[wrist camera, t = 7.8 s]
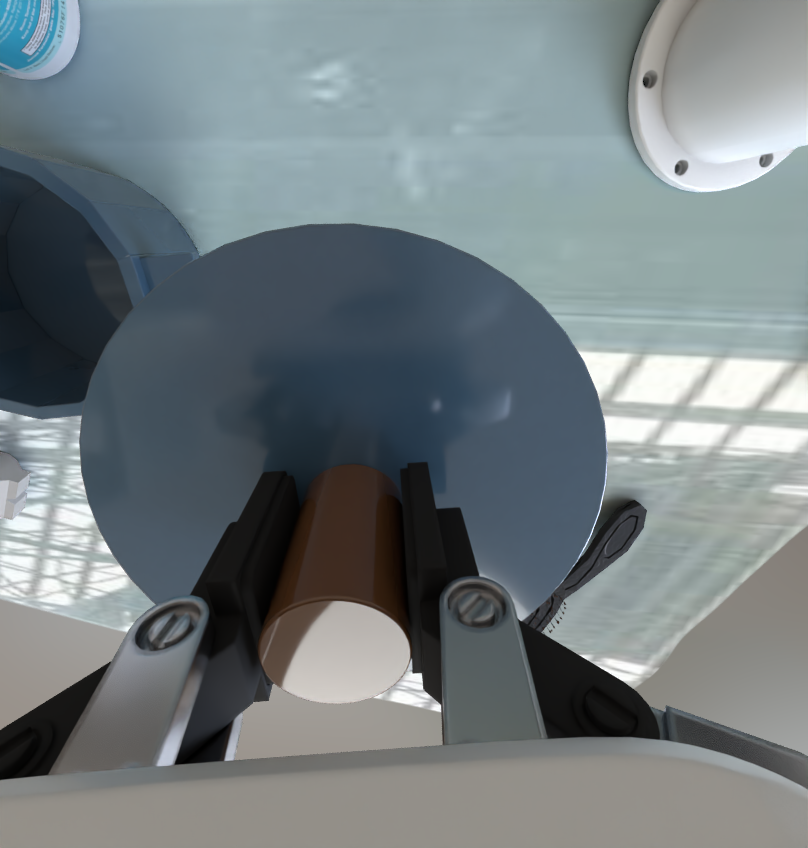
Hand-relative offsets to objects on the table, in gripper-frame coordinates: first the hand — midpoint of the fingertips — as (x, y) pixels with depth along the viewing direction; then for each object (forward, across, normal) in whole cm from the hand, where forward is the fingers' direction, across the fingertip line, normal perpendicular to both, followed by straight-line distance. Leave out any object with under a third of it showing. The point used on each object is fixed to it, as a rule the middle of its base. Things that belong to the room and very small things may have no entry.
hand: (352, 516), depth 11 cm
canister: (+22, +18, -5) cm, 29 cm away
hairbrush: (+22, -15, +26) cm, 37 cm away
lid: (+1, 0, 0) cm, 1 cm away
